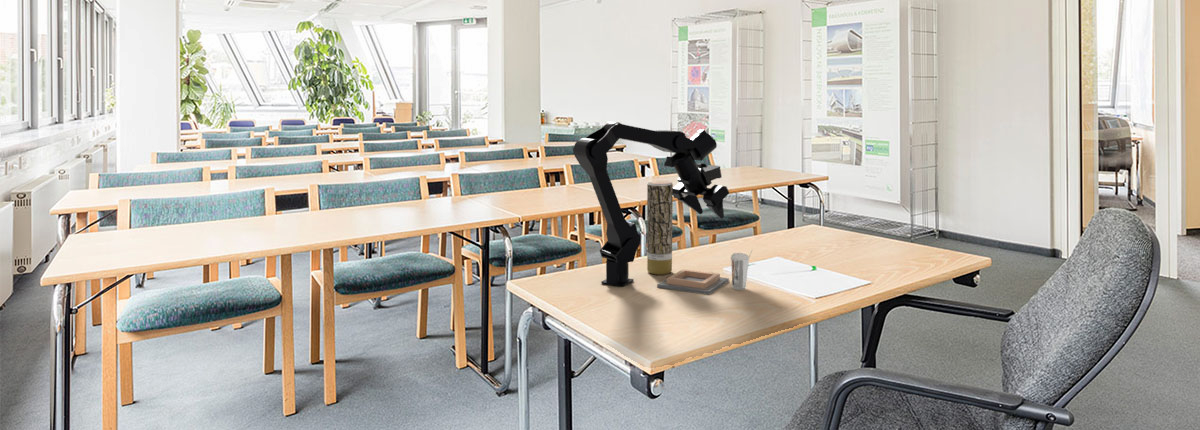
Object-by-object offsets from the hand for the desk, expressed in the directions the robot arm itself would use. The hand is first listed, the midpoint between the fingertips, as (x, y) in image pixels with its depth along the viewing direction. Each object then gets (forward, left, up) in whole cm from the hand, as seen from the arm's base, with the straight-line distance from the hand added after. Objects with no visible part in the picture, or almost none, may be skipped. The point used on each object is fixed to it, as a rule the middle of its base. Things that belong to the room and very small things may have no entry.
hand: (711, 215), depth 197 cm
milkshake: (-17, -15, -15) cm, 27 cm away
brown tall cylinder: (-12, +10, -15) cm, 22 cm away
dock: (-19, -3, -15) cm, 24 cm away
